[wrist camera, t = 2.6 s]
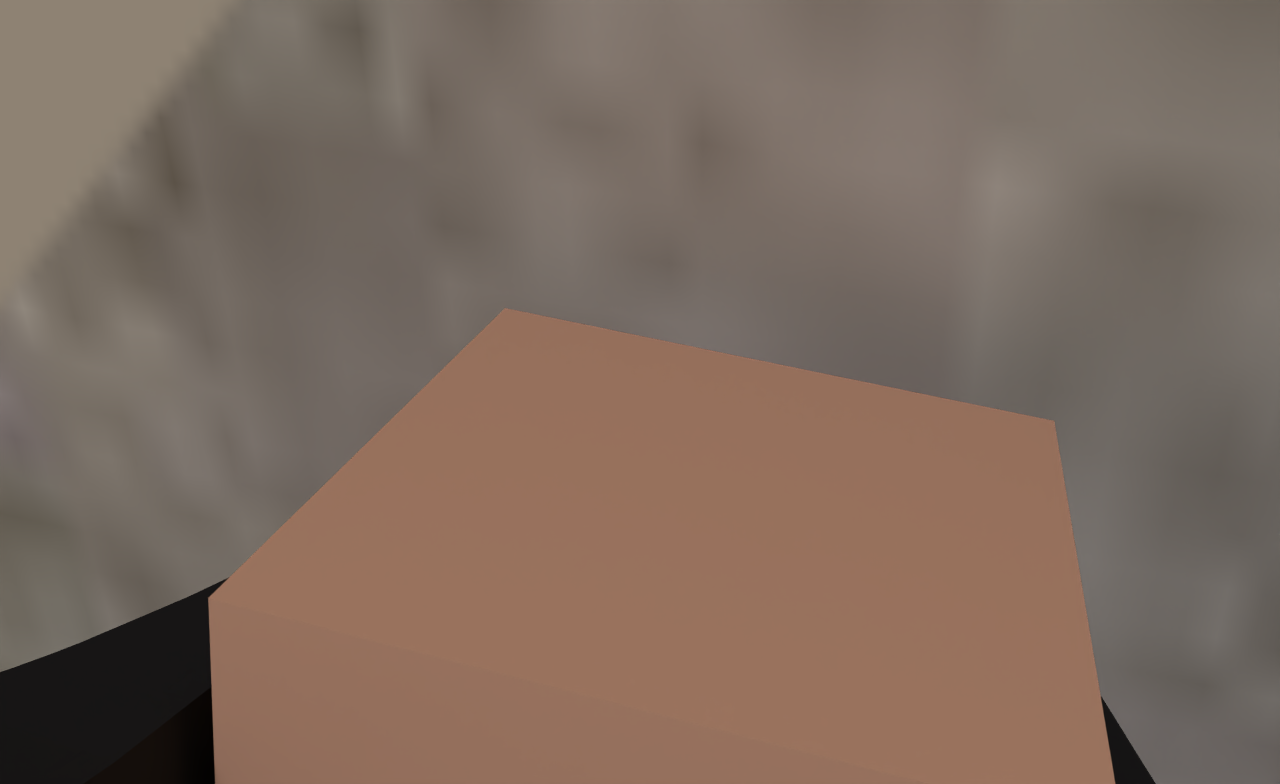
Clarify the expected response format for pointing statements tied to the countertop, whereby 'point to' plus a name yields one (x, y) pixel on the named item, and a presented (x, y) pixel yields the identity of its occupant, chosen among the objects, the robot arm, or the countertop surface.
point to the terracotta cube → (665, 585)
